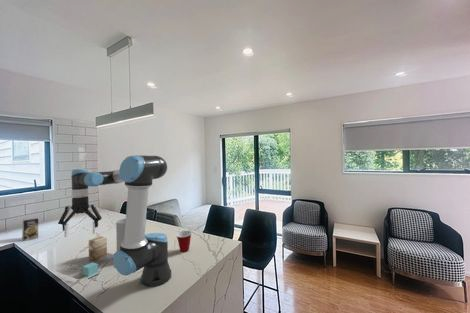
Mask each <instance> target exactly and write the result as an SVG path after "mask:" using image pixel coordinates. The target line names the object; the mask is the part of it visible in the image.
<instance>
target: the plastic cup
mask: <svg viewBox="0 0 470 313" xmlns="http://www.w3.org/2000/svg"><path fill="white" fill-rule="evenodd" d="M192 234H193V231H191V230H183V231H179V232H177V233H176V234H175V237H176V238H177V242H178V248H179V251H180V253H186V252H189V250H190V246H191V245H190V244H191V238H192Z"/></svg>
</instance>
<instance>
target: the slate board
mask: <svg viewBox="0 0 470 313" xmlns="http://www.w3.org/2000/svg"><path fill="white" fill-rule="evenodd" d="M114 254H115V253H110V252H107V256H106V257H104V258H101V259H99V260H97V261H94V260H91V259H89V256H87V257H85V258H82V259H80V260H77V261H73V263H72V264H73V265H77V266H79V267H82V268H83V266H85V265H87V264H90V263H92V262H93V263H96V264H98V266H101V265H102V264H103V265H104V264H105V263H106V262H109V261H112V260H113V256H114Z"/></svg>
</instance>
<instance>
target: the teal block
mask: <svg viewBox="0 0 470 313" xmlns="http://www.w3.org/2000/svg"><path fill="white" fill-rule="evenodd" d="M98 272H99V265H98V264H96V263H93V262H92V263H90V264H87V265H85V266H83V267H82V275H83V276H86V277H87V280H91V279H93V278H94V277H96V276H98V275H99V273H98Z"/></svg>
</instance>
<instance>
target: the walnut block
mask: <svg viewBox="0 0 470 313" xmlns="http://www.w3.org/2000/svg"><path fill="white" fill-rule="evenodd" d="M107 248H108V246H107V247H105V248H102V249H100V250H97V251H93V250H89V249H88V257H89V259H91V260H94V261H97V260H99V259H101V258H104V257H106V256H107V253H108V251H107V250H108V249H107Z"/></svg>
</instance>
